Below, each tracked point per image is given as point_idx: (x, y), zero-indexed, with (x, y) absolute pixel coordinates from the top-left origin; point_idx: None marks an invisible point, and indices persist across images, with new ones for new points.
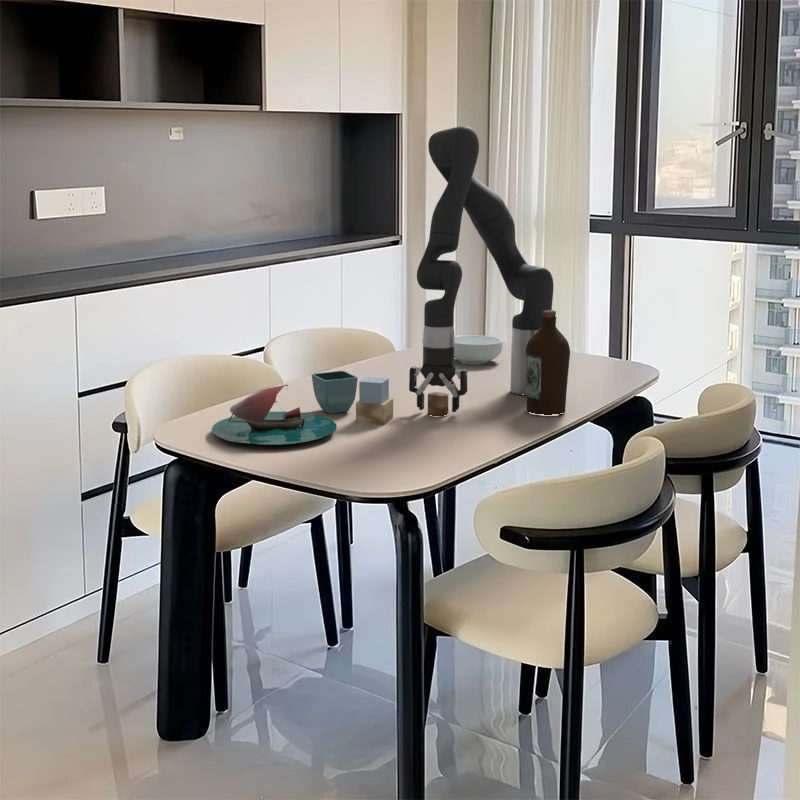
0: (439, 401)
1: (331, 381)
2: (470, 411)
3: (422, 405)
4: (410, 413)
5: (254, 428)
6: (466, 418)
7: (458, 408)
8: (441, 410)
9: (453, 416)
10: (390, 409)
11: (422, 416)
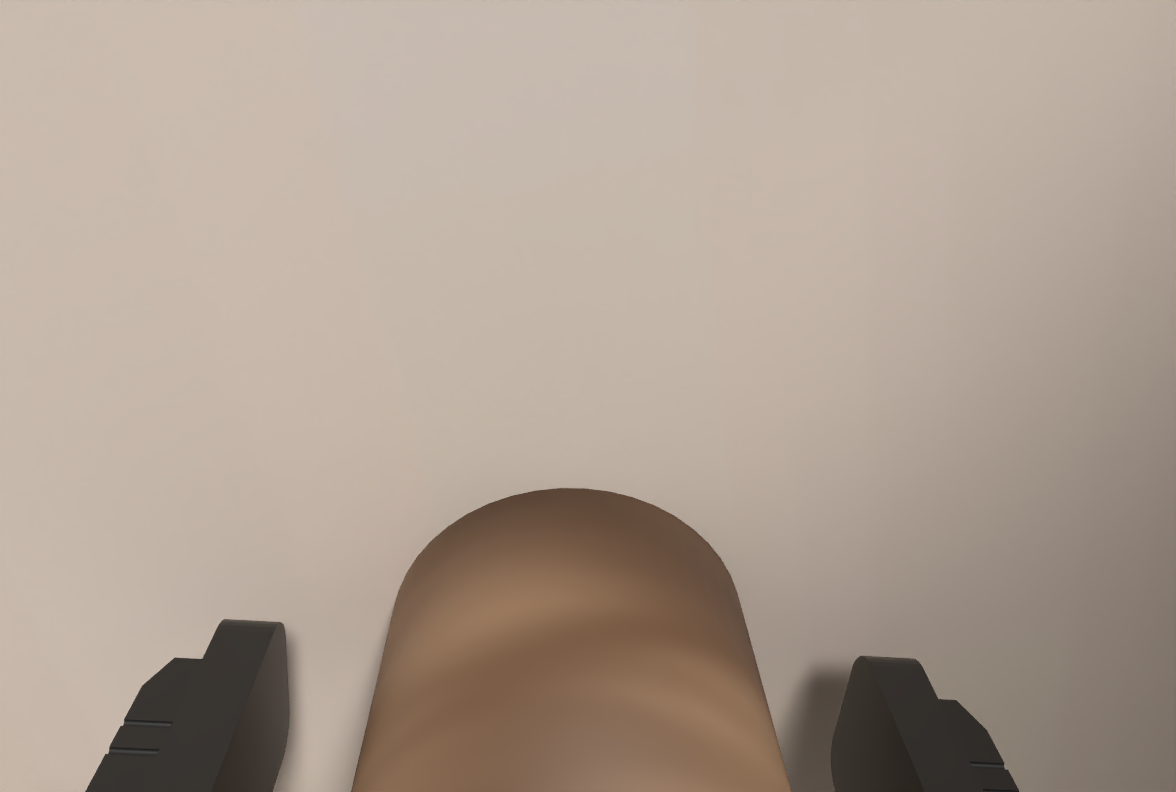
0: None
1: None
2: (1157, 336)
3: (267, 776)
4: (99, 662)
5: None
6: (1034, 752)
7: (958, 715)
8: None
9: (833, 693)
10: None
11: (352, 776)
